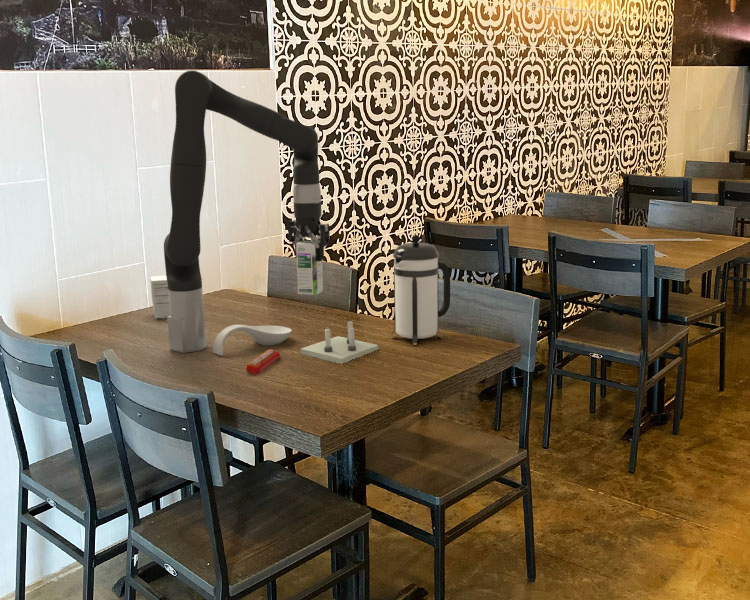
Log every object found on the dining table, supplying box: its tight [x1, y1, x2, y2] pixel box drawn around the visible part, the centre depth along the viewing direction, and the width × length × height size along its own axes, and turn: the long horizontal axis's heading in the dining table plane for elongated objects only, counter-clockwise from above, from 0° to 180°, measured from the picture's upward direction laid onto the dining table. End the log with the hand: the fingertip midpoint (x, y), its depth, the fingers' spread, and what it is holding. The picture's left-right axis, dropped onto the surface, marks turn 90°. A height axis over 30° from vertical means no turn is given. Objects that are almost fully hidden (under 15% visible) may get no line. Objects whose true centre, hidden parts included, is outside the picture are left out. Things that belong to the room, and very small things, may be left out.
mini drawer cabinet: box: [149, 274, 170, 320], centre depth 266 cm, size 7×7×13 cm
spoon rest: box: [212, 324, 293, 356], centre depth 232 cm, size 24×12×7 cm, turn 131°
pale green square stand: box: [300, 320, 380, 365], centre depth 224 cm, size 15×15×8 cm
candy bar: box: [245, 348, 281, 375], centre depth 215 cm, size 16×4×3 cm, turn 163°
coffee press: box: [390, 234, 451, 344], centre depth 233 cm, size 17×16×30 cm
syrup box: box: [296, 240, 324, 296], centre depth 230 cm, size 6×6×14 cm
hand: (309, 259), depth 230 cm, fingers closed on syrup box, 7 cm apart
